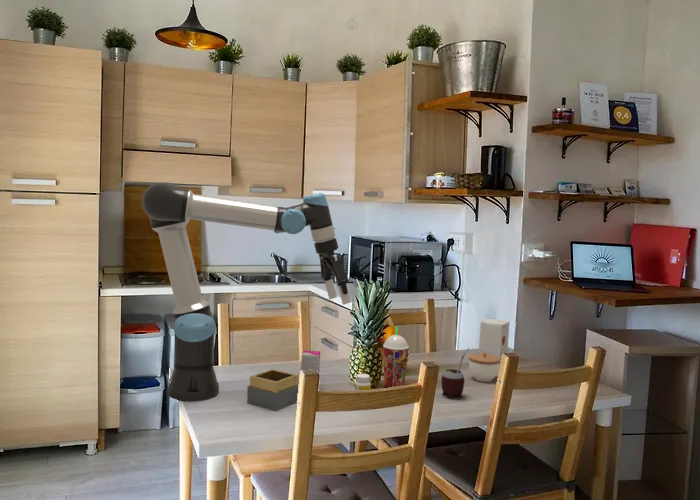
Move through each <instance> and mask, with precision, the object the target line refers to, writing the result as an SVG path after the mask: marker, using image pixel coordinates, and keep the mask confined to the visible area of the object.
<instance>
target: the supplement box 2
mask: <svg viewBox="0 0 700 500" xmlns="http://www.w3.org/2000/svg"><path fill="white" fill-rule="evenodd" d="M509 335H510V321H509V320H502V319H496V318H487V319H484V320H482V321H480V328H479V341H478V342H479V343H478V344H479V345H478V353H482V354H483V353H484V352H486V354H490V355H495V356H497V357H499V358H500V359H501V356H502V354H503V353H506V352H508V350H509Z"/></svg>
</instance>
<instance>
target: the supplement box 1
mask: <svg viewBox="0 0 700 500" xmlns="http://www.w3.org/2000/svg"><path fill="white" fill-rule="evenodd" d="M301 353H302V354H301V364H300V365H301V366H300V371H301V370H309V369H313V370H317V371H318V373H319V374H320V367H321V366H320V365H321V364H320V363H321V351H320V350H319V351H318V350H307V349H306V350H303V351H302V352H301Z"/></svg>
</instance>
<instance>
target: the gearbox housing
mask: <svg viewBox="0 0 700 500" xmlns="http://www.w3.org/2000/svg"><path fill="white" fill-rule="evenodd" d="M298 384H299V375H298V374H295V373H291V372H286V371H282V370H278V369H274V368H271V369H268V370H266V371H265V370H264V371H262V372H259V373H256V374H252V375H251V376H249V385H247V387H246V388H247V395H246V396H247V398H246V403H247V404H249V405H251V406H252V405H253V406H256V407H261V408H264V409H267V410H271V411H275V412H278V411H281V410H283V409H284V408H285V409H286V407H287V408H288V407H290V406H292V405H294V404H297V403H296V401H297V393H298Z"/></svg>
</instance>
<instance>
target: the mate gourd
mask: <svg viewBox="0 0 700 500" xmlns="http://www.w3.org/2000/svg"><path fill="white" fill-rule="evenodd" d="M469 350H470V348H469V347H468V348H467V349H466V350H465V351H464V352H463V353H462V355H461V357H460V361H459V364H458V367H457V369H455V368H454V369H453V368H452V369H451V368H450V369H449V368H448V369H445V371H443V373H442V375H441V382H440V383H441V389H442V393H441V396H446V397H448V400H451V399H453V398H459V399H462V398H463V395H462V394H463V392H464V389H465V388H464V386H465V376H464V374H463V372H462V371H461V367H462V362H463V360H464V358H465V355H466V353H468V351H469Z"/></svg>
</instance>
